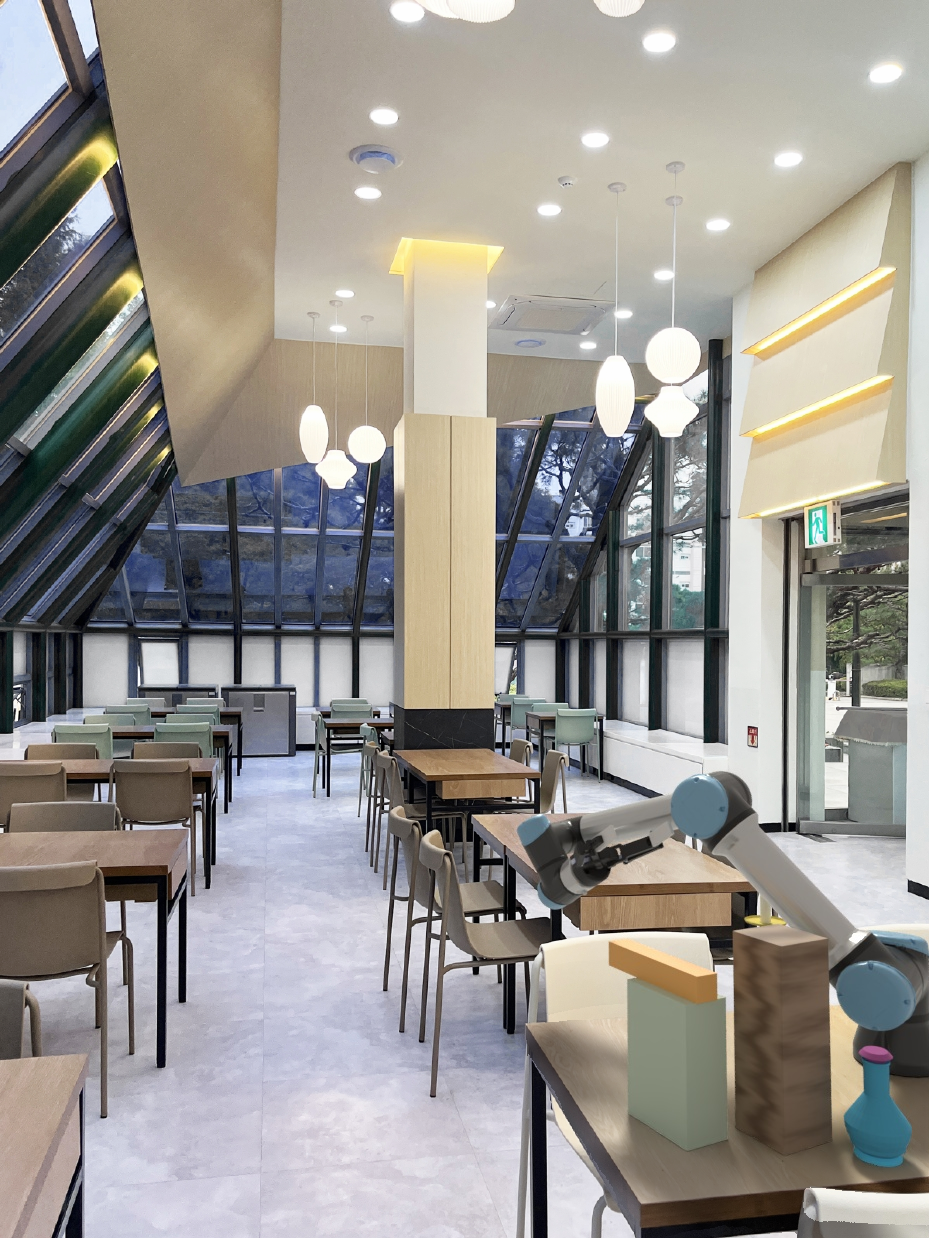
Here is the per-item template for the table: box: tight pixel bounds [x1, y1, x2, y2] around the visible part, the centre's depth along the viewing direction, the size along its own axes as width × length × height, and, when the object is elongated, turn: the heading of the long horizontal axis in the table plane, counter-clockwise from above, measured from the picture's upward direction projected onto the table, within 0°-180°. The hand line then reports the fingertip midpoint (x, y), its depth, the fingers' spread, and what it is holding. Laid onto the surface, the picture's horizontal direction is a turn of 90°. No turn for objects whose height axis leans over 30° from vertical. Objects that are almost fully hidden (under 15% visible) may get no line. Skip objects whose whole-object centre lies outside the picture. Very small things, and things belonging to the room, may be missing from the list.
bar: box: [608, 938, 718, 1004], centre depth 150 cm, size 22×4×4 cm, turn 28°
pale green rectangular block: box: [626, 977, 729, 1152], centre depth 146 cm, size 14×8×21 cm, turn 28°
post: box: [732, 924, 833, 1156], centre depth 144 cm, size 10×10×30 cm
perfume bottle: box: [843, 1046, 913, 1168], centre depth 137 cm, size 9×9×15 cm
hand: (643, 829), depth 176 cm, fingers open, 13 cm apart
